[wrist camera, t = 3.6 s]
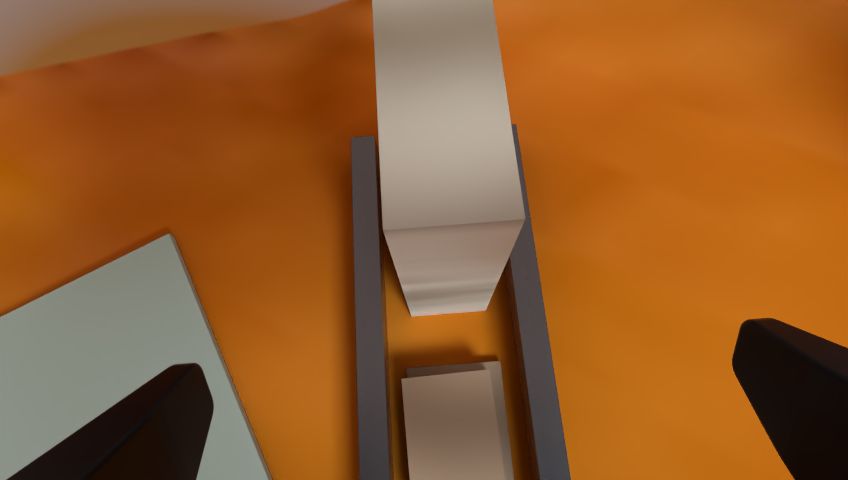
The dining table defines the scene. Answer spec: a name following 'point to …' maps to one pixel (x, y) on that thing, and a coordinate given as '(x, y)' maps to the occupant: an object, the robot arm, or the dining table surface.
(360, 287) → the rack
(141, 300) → the mat
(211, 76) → the dining table surface
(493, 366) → the block
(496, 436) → the upper offcut
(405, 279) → the beige rectangular block
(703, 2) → the dining table surface
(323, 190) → the dining table surface
